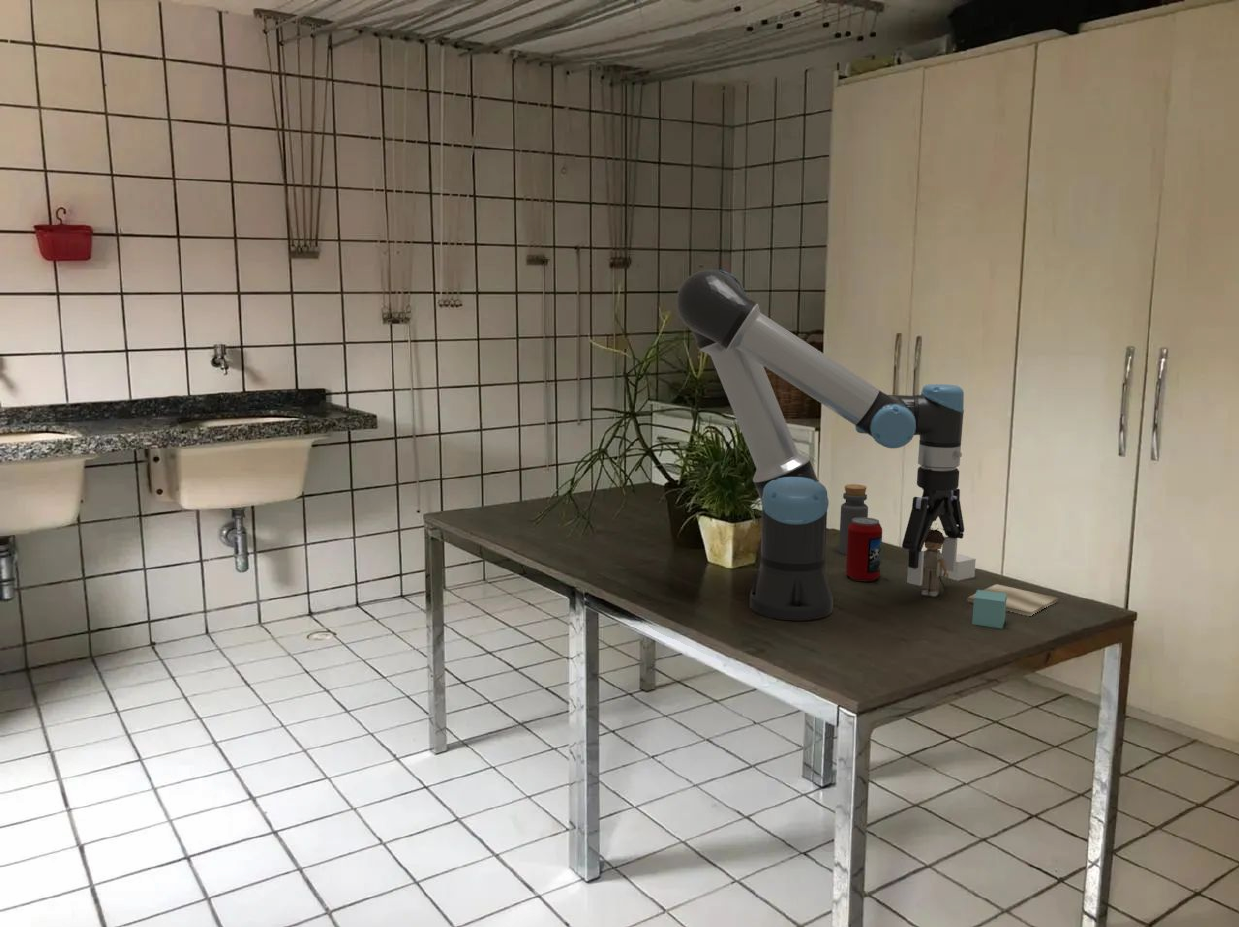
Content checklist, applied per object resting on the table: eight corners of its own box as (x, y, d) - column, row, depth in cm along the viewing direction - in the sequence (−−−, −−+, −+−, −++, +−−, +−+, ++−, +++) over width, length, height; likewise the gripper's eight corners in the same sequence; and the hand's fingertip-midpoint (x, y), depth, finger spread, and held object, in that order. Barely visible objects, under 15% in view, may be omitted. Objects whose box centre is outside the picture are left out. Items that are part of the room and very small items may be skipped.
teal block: (1002, 628, 174) (1004, 601, 173) (972, 624, 176) (974, 597, 175) (1004, 620, 179) (1006, 593, 178) (975, 616, 181) (977, 589, 180)
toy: (911, 595, 192) (915, 520, 189) (917, 588, 197) (921, 514, 194) (944, 600, 189) (949, 524, 186) (949, 592, 194) (954, 518, 191)
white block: (957, 581, 202) (958, 562, 201) (941, 576, 205) (943, 557, 204) (974, 577, 204) (975, 558, 203) (958, 572, 207) (960, 554, 207)
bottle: (863, 549, 225) (867, 483, 222) (867, 556, 219) (871, 489, 216) (837, 548, 225) (840, 483, 222) (840, 555, 219) (843, 488, 217)
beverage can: (880, 583, 199) (883, 525, 197) (846, 581, 201) (848, 523, 198) (878, 574, 206) (882, 517, 204) (845, 572, 207) (848, 515, 205)
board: (1030, 616, 180) (1030, 612, 180) (967, 601, 189) (967, 597, 188) (1057, 602, 188) (1057, 597, 188) (996, 587, 197) (996, 584, 197)
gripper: (924, 478, 177) (917, 594, 181) (987, 461, 194) (979, 568, 198) (886, 472, 182) (880, 585, 186) (951, 456, 199) (944, 560, 203)
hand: (931, 576), depth 192 cm, fingers open, 12 cm apart
